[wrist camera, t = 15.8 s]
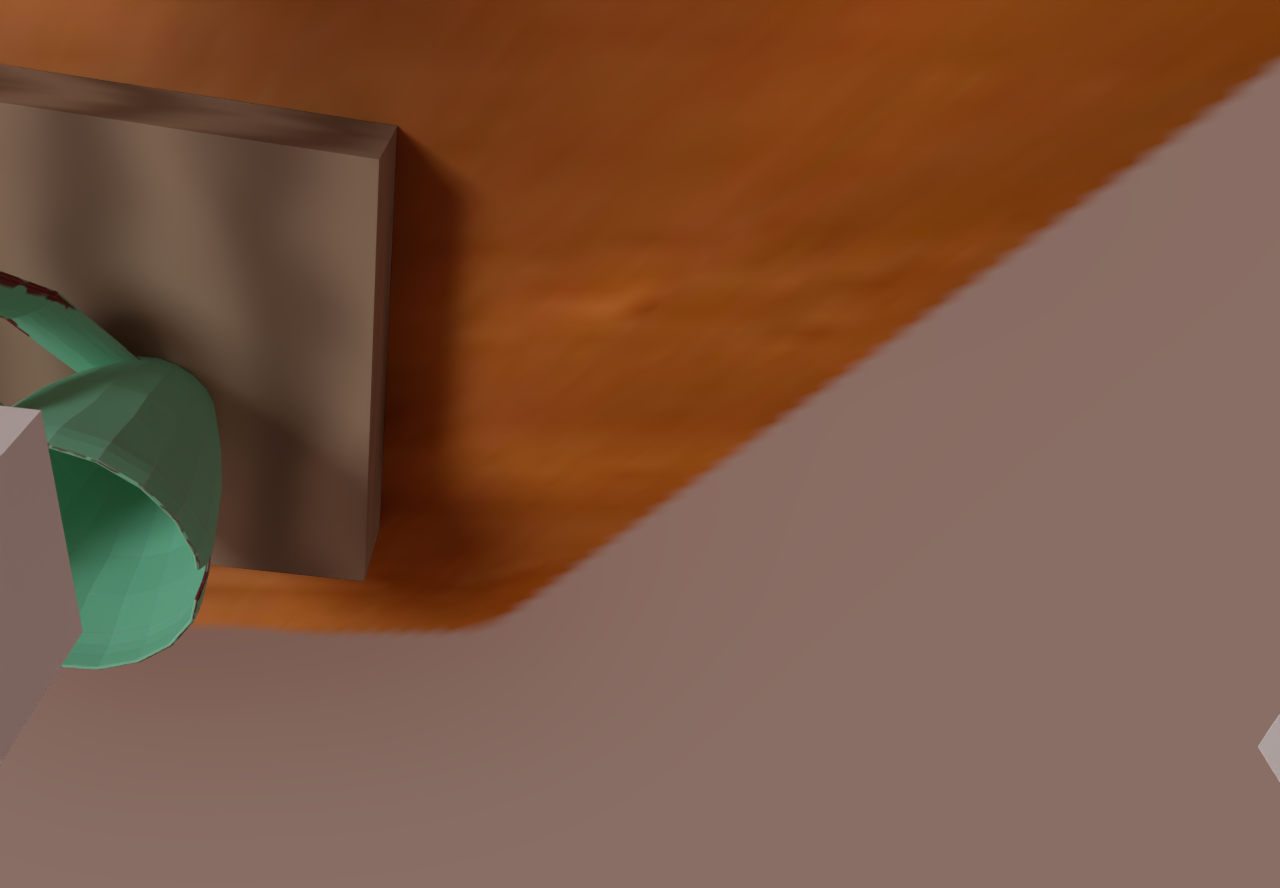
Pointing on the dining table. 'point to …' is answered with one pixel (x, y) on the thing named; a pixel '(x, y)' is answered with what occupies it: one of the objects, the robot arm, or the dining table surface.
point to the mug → (123, 479)
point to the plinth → (220, 286)
